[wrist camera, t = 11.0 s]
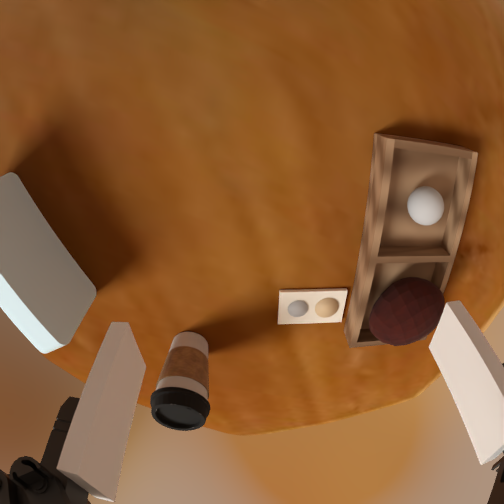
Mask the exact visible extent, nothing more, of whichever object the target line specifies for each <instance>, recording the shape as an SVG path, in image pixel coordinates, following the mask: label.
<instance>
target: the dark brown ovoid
mask: <svg viewBox="0 0 504 504" xmlns="http://www.w3.org/2000/svg"><path fill="white" fill-rule="evenodd" d="M444 305H445V303H444V296H443V293H442V292H441V290H440V289H439V288H438V287H437V286H436V285H435V284H433V283H432V282H430V281H428V280H426V279H422V278H418V277H407V278H402V279H400V280H398V281H396V282H394V283H392V284H391V285H390V286H389V287H388V288H387V289H386V290H385V291H384V292H383V293H382V294H381V295H380V296H379V298H378V299H377V301H376V302H375V303H374V305H373V307H372V310H371V313H370V316H369V329H370V331H371V333H372V334H373V335H374V336H375V337H376V338H377V339H379V340H380V341H381V342H383V343H386V344H390V345H394V346H399V345H407V344H410V343H413V342H415V341H418V340H420V339H422V338H423V337H425V336H427V335H428V334H429V333H431V332H432V331H433V330H434V329H435V328H436V326H437V325H438V323H439V321H440V319H441V316H442V313H443V310H444Z"/></svg>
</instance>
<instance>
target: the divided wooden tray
mask: <svg viewBox="0 0 504 504" xmlns="http://www.w3.org/2000/svg"><path fill="white" fill-rule="evenodd" d="M477 157H478V153H477V152H475V151H472V150H470V149H467V148H465V147H462V146H458V145H453V144H447V143H442V142H436V141H430V140H423V139H417V138H410V137H403V136H395V135H387V134H378V133H374V143H373V154H372V164H371V174H370V182H369V191H368V199H367V206H366V214H365V221H364V227H363V234H362V240H361V246H360V252H359V258H358V264H357V269H356V275H355V280H354V285H353V290H352V295H351V300H350V305H349V310H348V314H347V319H346V323H345V328H344V333H345V336H346V339H347V342H348V345H349V348H352V347H363V346H374V345H384V344H386V343H383V342H381V341H380V340H379V339H377V338H376V337H375V336H374V335H373V334H372V333H371V331H370V329H369V316H370V313H371V310H372V307H373V305H374V303H375V302H376V301H377V299H378V298H379V296H380V295H381V294H382V293H383V292H384V291H385V290H386V289H387V288H388V287H389V286H390V285H391V284H392V283H394V282H396V281H398V280H400V279H402V278H407V277H418V278H422V279H426V280H428V281H430V282H432V283H433V284H435V285H436V286H437V287H438V288H439V289H440V290H441V292H442V293H444V290H445V287H446V285H447V282H448V279H449V275H450V272H451V269H452V266H453V263H454V259H455V256H456V253H457V249H458V246H459V242H460V238H461V235H462V231H463V227H464V223H465V219H466V214H467V210H468V206H469V201H470V196H471V191H472V186H473V181H474V175H475V170H476V164H477ZM421 186H428V187H432V188H434V189H435V190H437V191H438V192H439V193H440V195H441V196H442V199H443V202H444V211H443V214H442V217H441V218H440V219H439V220H438V221H437V222H436V223H434V224H432V225H421V224H418V223H417V222H415V221H414V220H413V219H412V218H411V216H410V214H409V212H408V208H407V202H408V198H409V196H410V194H411V193H412V192H413V191H414V190H415V189H416V188H418V187H421ZM426 337H427V336H425V337H423V338H422V339H420V340H425V339H426Z"/></svg>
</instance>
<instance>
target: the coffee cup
mask: <svg viewBox="0 0 504 504" xmlns="http://www.w3.org/2000/svg"><path fill="white" fill-rule="evenodd" d="M208 397H209V378H208V343H207V341H206V339H205V338H204V337H202V336H201V335H199V334H197V333H194V332H182V333H179V334H178V335H176V336H175V337H174V339H173V342H172V345H171V348H170V350H169V353H168V355H167V358H166V360H165V363H164V366H163V368H162V371H161V373H160V376H159V379H158V381H157V384H156V391H154V392H153V393H152V395H151V401H150V404H151V407H152V412H151V413H152V416H153V418H154V419H155V420H156V421H157V422H158V423H160V424H161V425H163V426H165V427H168V428H171V429H175V430H182V431H184V430H185V431H188V430H194V429H197V428H200V427H202V426H203V425H204V424H205V421H206V418H207V416H208V415H209V411H210V404H209V402H208V401H207V400H208Z"/></svg>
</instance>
